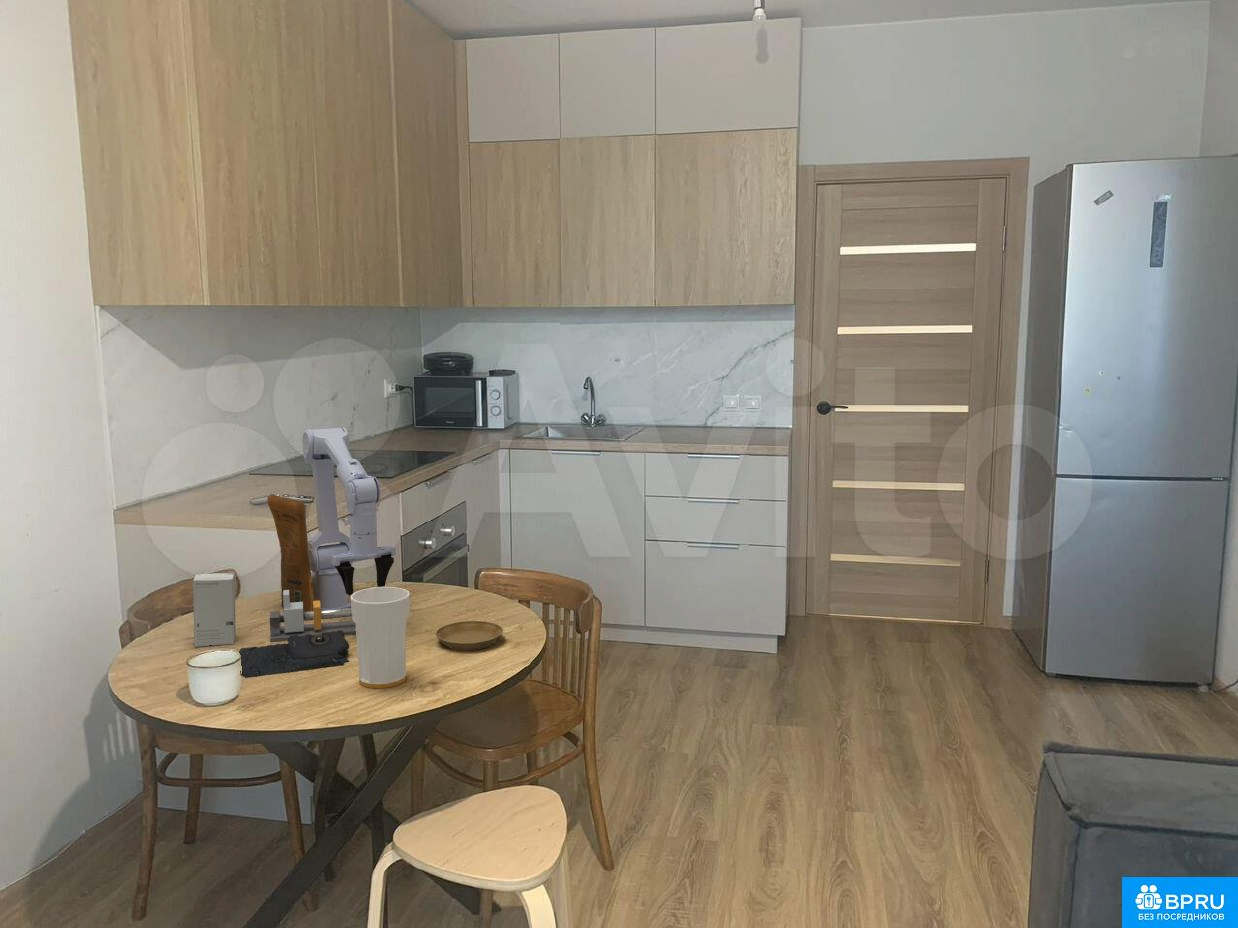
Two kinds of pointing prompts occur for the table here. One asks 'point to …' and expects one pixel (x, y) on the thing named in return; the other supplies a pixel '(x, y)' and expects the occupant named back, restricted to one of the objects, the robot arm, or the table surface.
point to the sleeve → (292, 614)
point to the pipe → (305, 617)
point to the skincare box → (214, 609)
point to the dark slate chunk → (295, 655)
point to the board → (345, 626)
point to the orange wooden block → (317, 615)
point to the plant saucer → (469, 634)
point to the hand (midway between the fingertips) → (365, 591)
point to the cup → (381, 635)
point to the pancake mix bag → (293, 549)
